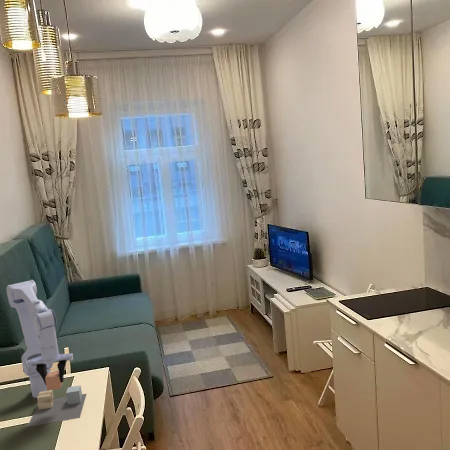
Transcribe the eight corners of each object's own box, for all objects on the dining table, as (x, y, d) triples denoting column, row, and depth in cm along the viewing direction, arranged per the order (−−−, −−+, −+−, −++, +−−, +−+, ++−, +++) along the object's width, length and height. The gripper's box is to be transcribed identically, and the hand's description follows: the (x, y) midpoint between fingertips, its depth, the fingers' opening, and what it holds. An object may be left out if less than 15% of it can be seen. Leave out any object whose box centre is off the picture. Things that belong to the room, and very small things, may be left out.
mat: (39, 402, 177) (39, 401, 177) (86, 394, 179) (86, 393, 179) (27, 428, 159) (27, 426, 159) (79, 419, 162) (79, 417, 162)
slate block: (69, 399, 176) (68, 387, 176) (82, 396, 177) (80, 385, 176) (67, 404, 172) (66, 392, 171) (80, 402, 173) (78, 390, 172)
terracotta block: (49, 385, 170) (47, 372, 169) (62, 382, 171) (61, 370, 170) (47, 390, 166) (45, 378, 165) (60, 388, 166) (58, 376, 166)
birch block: (41, 403, 175) (39, 392, 174) (54, 401, 176) (52, 389, 175) (38, 409, 170) (36, 397, 170) (51, 407, 171) (50, 395, 171)
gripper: (24, 353, 161) (30, 391, 163) (68, 346, 163) (74, 384, 165) (29, 345, 168) (35, 382, 170) (71, 339, 170) (77, 375, 172)
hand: (54, 382), depth 168 cm, fingers closed on terracotta block, 4 cm apart
